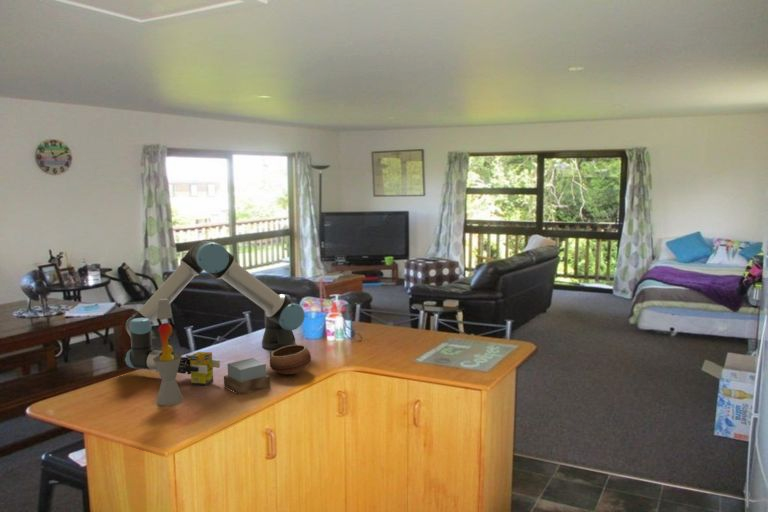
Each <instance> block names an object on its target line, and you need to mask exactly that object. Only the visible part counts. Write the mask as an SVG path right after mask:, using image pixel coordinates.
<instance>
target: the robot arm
mask: <svg viewBox="0 0 768 512" xmlns="http://www.w3.org/2000/svg"><path fill="white" fill-rule="evenodd" d="M179 261H180V264H179V265H178V266H177V268H175V269H174V271H173V272H172V273H171V274H170V275H169V276H168V277H167V279H165V281H164V282H163V283H162V284H161V285H160V287H158V289H157V290H156V291H155V292H154V293H153V294H152V295H151V297H150V298H148V300H147V301H146V302H145V303H144V304H143V305H142V306H141V307H140V309H139V310H138V311H137V312H136V313H135V314H133V316H131V317H129V318H128V319H127V320H126V322H125V331H126V332H127V334H128V335H129V337H130V345H131V346H130V347H131V348H130V349H129V350H127V352H126V354H125V364H126V365H127V366H128V367H130V368H133V369H137V370H148V371H155V372H156V373H159V372H158V370H157V368H156V366H155V363H154V361H153V359H154V358H155V357H157V356H161V355H162V350H157V349H156V350H155V349H153V336H152V328H153V327H152V325H153V324H154V323H155V322H156V320H158V319H157V313H158V303H159V300H160V299H168V300H169V304H170V305H171V304H172V302H173V301H174V300H175V299H176V298H177V297H178V295H179V294H180V293H181V292H182V291H183V290H184V289H185V288H186V286H187V285H188V284H189V283H191V281H192V280H193V279H194V277H196V276H199V275H201V273H203V272H204V271H205V272H206V273H207V274H209V275H210V276H211V277H213V278H214V280H215V279H216V280H221V279H222V280H223V281H224V282H226V283H227V284H228V285H230V286H231V287H233V288H234V289H235V290H237V291H238V292H239V293H240V294H242V295H243V296H245V297H246V298H248V299H249V300H250V301H252V302H253V303H254V304H256V305H257V306H259V307H260V308H261V309H262V310H263V313H264V333H263V336H262V339H261V347H262V348H264V349H268V350H277V349H279V348H281V347H285V346H289V345H297V344H296V337H295V335H294V332H293V331H295V330H297V329H298V328H300V327H301V326H302V325H303V323H304V321H305V318H306V317H305V315H306V313H305V310H304V307H302V306H301V305H300V304H298V303H296V302H294V301H293V300H291V296H290V295H289V294H284V293H280V294H278V293H277V292H275V291H274V290H272V289H271V288H270V287H269V286H267V285H266V284H265V283H264V282H262V281H261V280H259V279H258V278H257V277H255V276H254V275H253V274H251V273H250V272H249V271H248V270H246V269H245V268H243V266H241V265H240V264H238V263H237V262H236V259H235V255H233V254H232V253H230V252H229V251H228V250H227V248H225V247H224V245H222V244H221V243H219V242H216V241H210V240H206V239H205V240H199V241H198V242H197V241H196V243H194V244H193V245H192V247H190V248H189V250H188V251H187V253H185V254H184V256H183V257H182V258H181V259H180V260H179ZM171 354H176V353H175V352H174V351H173V352H172V353H171ZM191 355H192V354H191ZM191 355H190V354H186V355H185V356H181V361H180V364H179V368H178V371H177V374H184V375H185V374H186V373H187V375H191V372H196V373H205V374H207V373H208V372H207V366H204V365H195V364H192V365H191V366H190V356H191ZM212 366H213V368H217V369H218V368H220V367H221V363H220V359H213V358H212Z"/></svg>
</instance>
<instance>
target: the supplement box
mask: <svg viewBox="0 0 768 512" xmlns="http://www.w3.org/2000/svg"><path fill="white" fill-rule="evenodd" d="M212 359H213V352H210V351H209V352H208V351H197V352H196V353H194V354H191V356H190V366H191V365H192V364H195V365H204V366H207V372H208V373H207V374H205V373H196V372H191V374H190V382H191V383H190V384H191V385H192V386H207V385H208V384H210V383H212V382H213V381H214V370H213V369H214V367H213V366H212Z"/></svg>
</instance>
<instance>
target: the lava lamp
mask: <svg viewBox="0 0 768 512" xmlns="http://www.w3.org/2000/svg"><path fill="white" fill-rule="evenodd" d="M171 318H173V312H172V307H171V303H170V304H169V300H168V299H160V300H159V303H158V313H157V319H156V320H166V319H171ZM172 333H173V327H172V325H171V324H169V323H162V324H161V325H160V326H159V327H158V334H159V337H160V339H161V347H162V348H161V351H162V355H161V356H157V357H155V358H154V359H153V361H154V363H155V366H156V368H157V370H158V372H157V373H158V374H159V377H160V379H161V383H160V386H159V390H158V395H157V398H156V404H157V405H160V406H171V405H176V404H179V403H182V402H183V401H184V397H183V394H182V392H181V389H180V386H179V385H178V381H177V379H176V377H177V374H178V373H177V371H178V368H179V364H180V361H181V357H182V355H181V354H179V353H178V354H177V353H175V354H171V353H172V352H173V353H174V351H173V350H174V349H173V346H172V345H170V344H169V340H170V336H171V335H172Z"/></svg>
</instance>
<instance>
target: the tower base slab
mask: <svg viewBox="0 0 768 512" xmlns="http://www.w3.org/2000/svg"><path fill="white" fill-rule="evenodd" d="M223 385H224V386H225V387H224V388H225V389H227V388H228V389H227V390H229V389H230V391H231V390H232V391H231V392H233V391H234V393H235V392H236V393H235V394H237V395H238V396H241V395H242V394H243V395H247V394H249V393H250V394H251V393H253V392H254V393H255V392H257V390H258V391H261V390H265V389H269V388H271V376H270V375H269V374H266V376H264V377H260V378H256V379H252V380H248V381H244V382H239V381H237V380H235V379H233V378H231V377H230V376H228V374H227V375H223ZM264 388H265V389H264Z"/></svg>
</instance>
